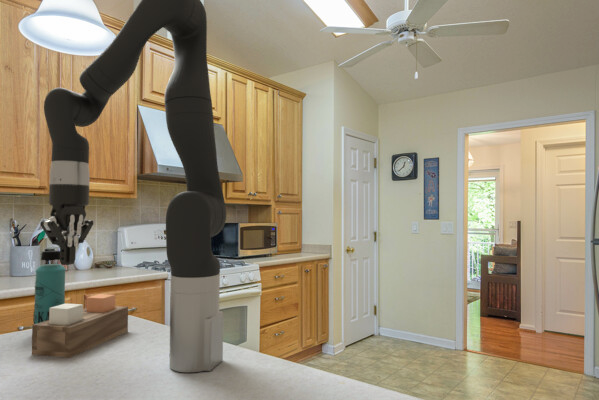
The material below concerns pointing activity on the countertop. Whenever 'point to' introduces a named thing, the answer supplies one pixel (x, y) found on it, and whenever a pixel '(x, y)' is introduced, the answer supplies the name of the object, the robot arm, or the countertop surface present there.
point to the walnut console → (78, 333)
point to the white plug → (65, 314)
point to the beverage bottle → (48, 286)
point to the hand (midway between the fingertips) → (67, 264)
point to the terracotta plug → (100, 303)
